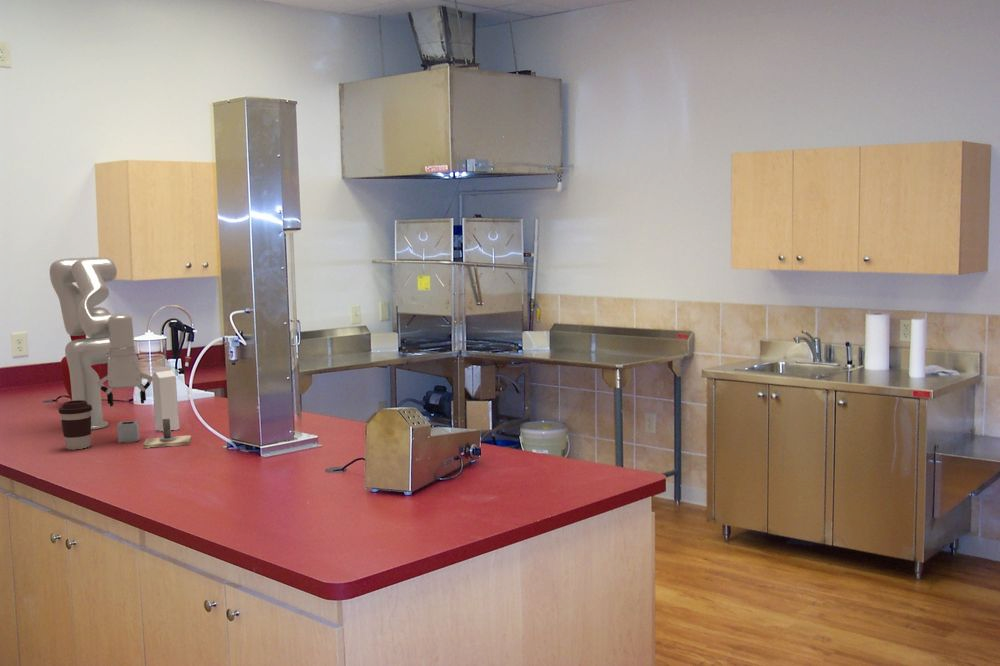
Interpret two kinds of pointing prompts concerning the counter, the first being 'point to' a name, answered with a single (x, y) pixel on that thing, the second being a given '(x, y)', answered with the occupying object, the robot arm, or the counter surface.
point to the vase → (66, 372)
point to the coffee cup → (76, 424)
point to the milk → (165, 398)
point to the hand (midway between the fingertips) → (127, 404)
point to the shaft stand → (167, 438)
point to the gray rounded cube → (128, 431)
